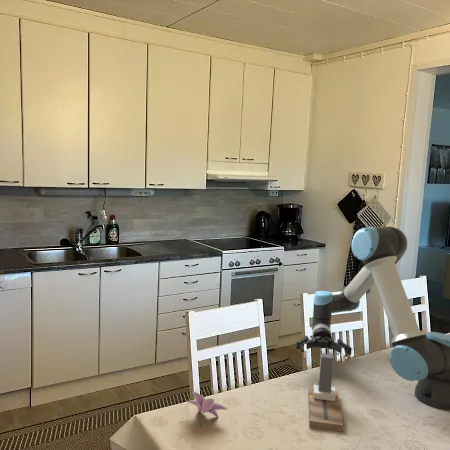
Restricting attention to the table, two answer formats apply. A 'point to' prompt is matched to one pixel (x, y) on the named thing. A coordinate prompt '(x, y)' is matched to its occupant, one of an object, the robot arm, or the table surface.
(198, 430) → the table surface
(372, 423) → the table surface
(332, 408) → the board
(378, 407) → the table surface
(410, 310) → the robot arm
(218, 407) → the lily
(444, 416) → the table surface
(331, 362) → the slider
